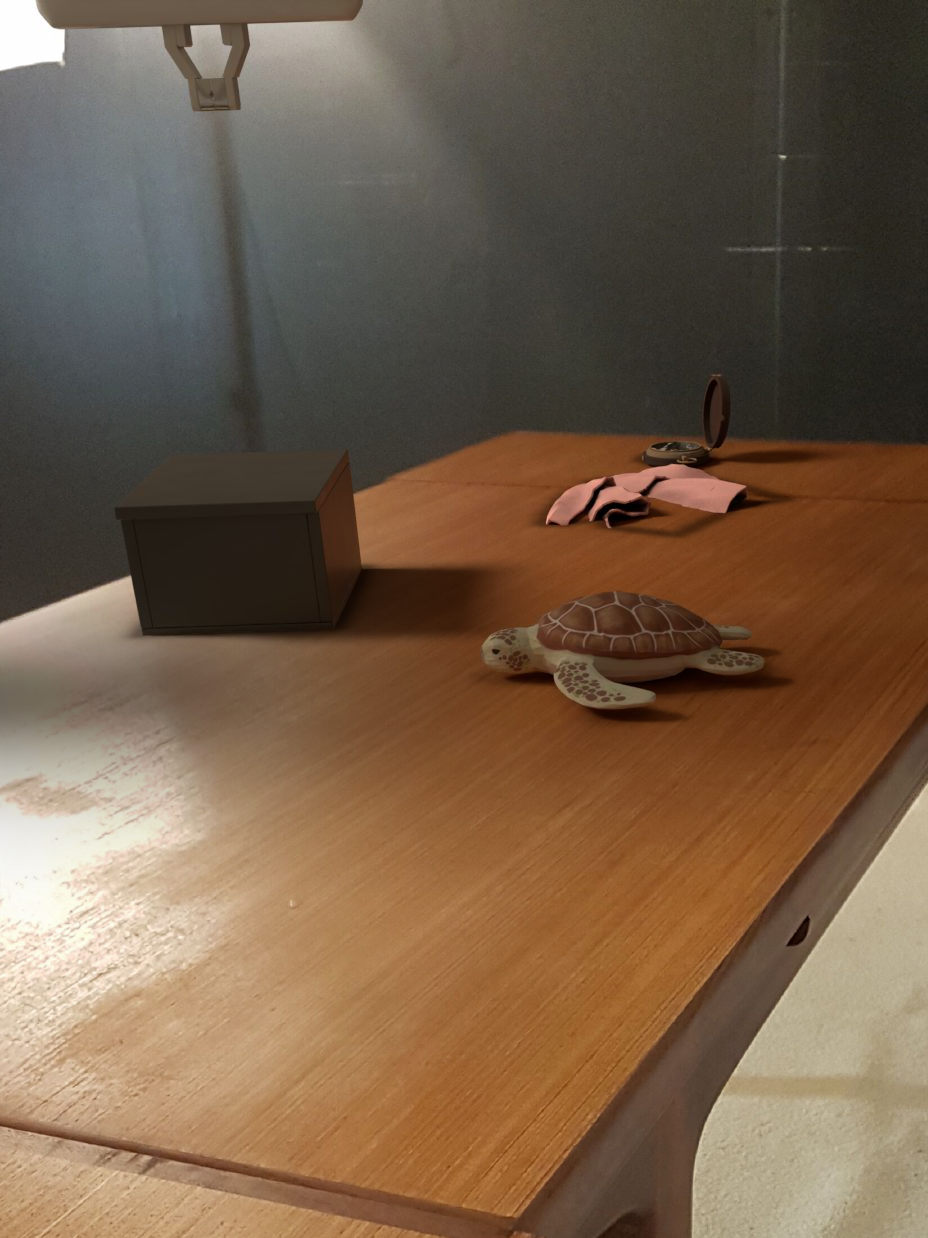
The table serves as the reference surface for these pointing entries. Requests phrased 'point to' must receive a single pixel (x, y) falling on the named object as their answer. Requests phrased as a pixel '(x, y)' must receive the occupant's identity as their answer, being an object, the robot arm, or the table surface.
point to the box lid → (235, 485)
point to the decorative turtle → (616, 647)
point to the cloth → (647, 493)
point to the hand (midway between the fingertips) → (217, 110)
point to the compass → (713, 430)
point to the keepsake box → (246, 569)
